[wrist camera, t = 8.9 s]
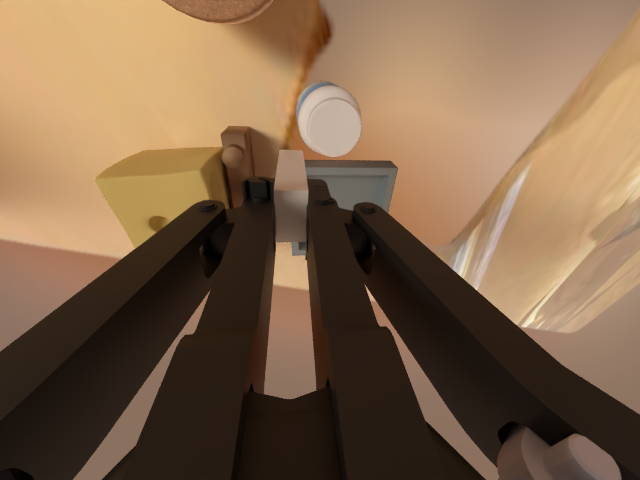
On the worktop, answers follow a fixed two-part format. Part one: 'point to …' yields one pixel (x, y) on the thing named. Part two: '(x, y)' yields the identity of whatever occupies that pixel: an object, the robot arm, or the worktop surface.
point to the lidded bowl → (221, 9)
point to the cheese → (163, 187)
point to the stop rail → (244, 166)
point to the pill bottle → (328, 119)
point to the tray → (352, 184)
